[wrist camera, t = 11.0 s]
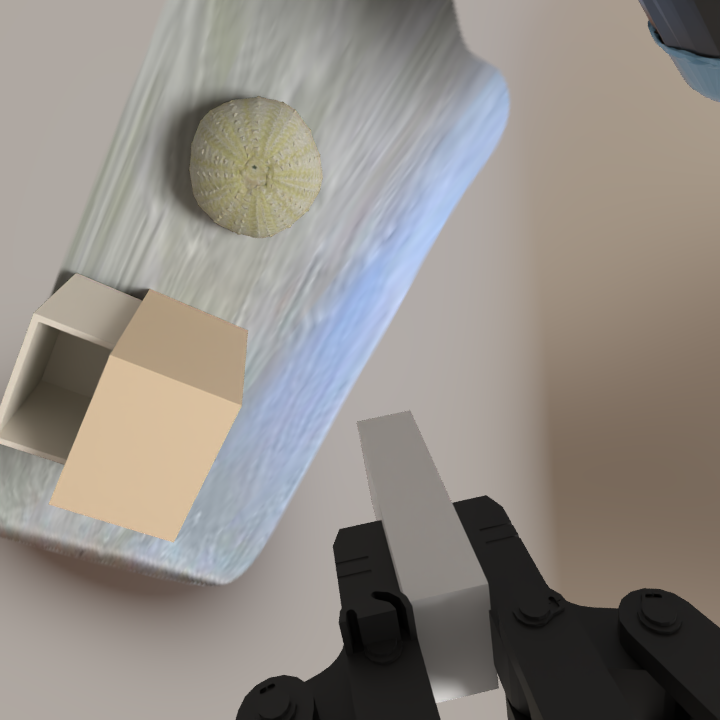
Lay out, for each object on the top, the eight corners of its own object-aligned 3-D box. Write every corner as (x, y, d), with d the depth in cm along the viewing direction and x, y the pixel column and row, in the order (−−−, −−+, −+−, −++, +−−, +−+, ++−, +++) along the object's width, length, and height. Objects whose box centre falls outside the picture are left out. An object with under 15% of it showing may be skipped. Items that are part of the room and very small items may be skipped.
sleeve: (247, 330, 49) (241, 405, 37) (194, 441, 52) (173, 542, 41) (149, 288, 47) (109, 354, 35) (100, 407, 50) (48, 504, 38)
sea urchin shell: (161, 210, 43) (183, 140, 36) (201, 130, 46) (229, 53, 40) (280, 268, 46) (321, 213, 39) (310, 189, 49) (353, 126, 42)
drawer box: (207, 327, 48) (194, 375, 40) (162, 425, 51) (141, 489, 42) (76, 272, 45) (33, 312, 37) (36, 380, 48) (-12, 439, 39)
